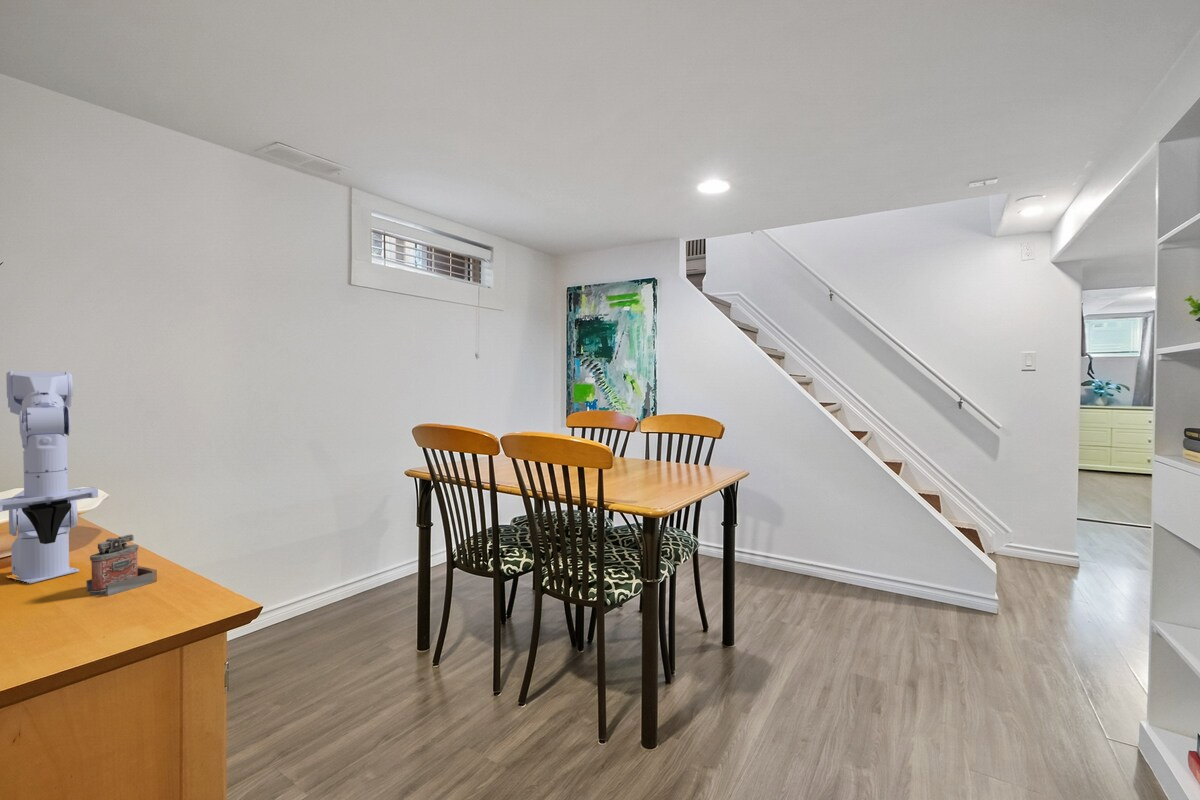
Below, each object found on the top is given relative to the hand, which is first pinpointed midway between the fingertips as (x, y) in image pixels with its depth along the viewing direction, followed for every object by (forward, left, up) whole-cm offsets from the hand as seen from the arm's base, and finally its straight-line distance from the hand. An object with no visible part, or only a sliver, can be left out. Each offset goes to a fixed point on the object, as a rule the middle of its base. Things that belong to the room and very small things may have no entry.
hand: (47, 542), depth 99 cm
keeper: (+6, +8, -10) cm, 15 cm away
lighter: (+6, +8, -11) cm, 14 cm away
